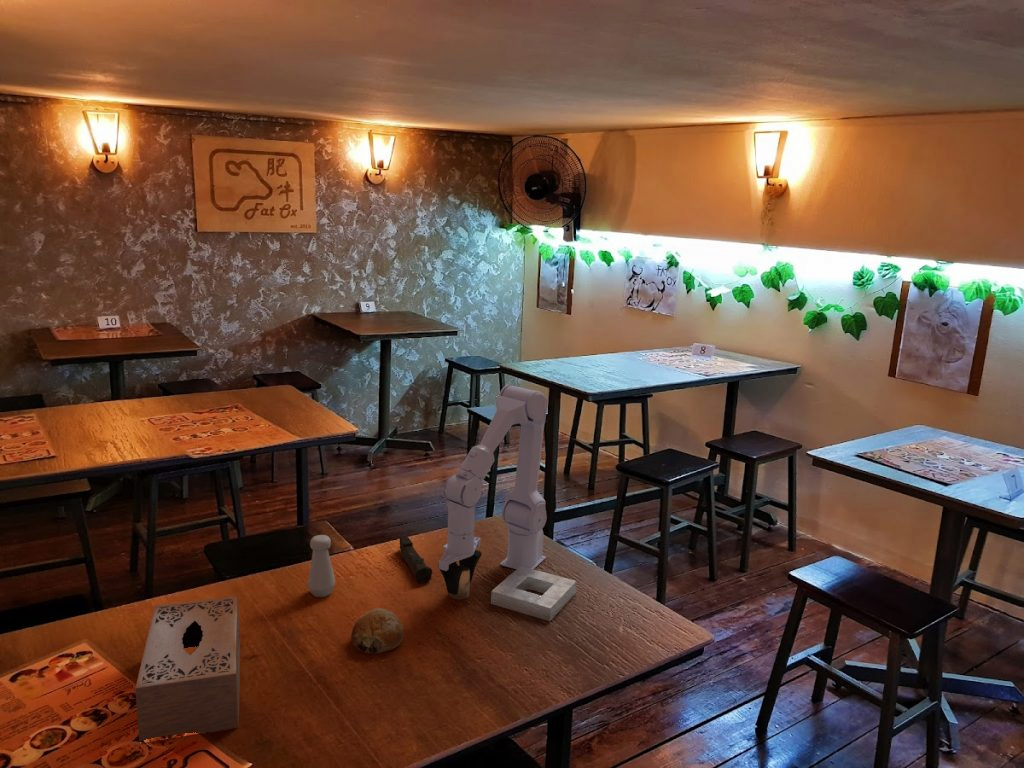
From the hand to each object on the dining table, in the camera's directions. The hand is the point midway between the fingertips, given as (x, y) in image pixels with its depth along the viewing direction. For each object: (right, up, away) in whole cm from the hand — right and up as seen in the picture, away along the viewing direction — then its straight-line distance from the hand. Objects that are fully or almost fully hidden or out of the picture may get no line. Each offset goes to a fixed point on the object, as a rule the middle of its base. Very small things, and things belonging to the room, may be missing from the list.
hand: (459, 587), depth 166 cm
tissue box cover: (-43, -8, -35) cm, 57 cm away
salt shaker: (-30, -1, -1) cm, 30 cm away
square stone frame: (+16, -2, 0) cm, 17 cm away
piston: (0, -2, 0) cm, 2 cm away
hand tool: (-13, +1, +13) cm, 18 cm away
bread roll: (-15, -6, -19) cm, 25 cm away
